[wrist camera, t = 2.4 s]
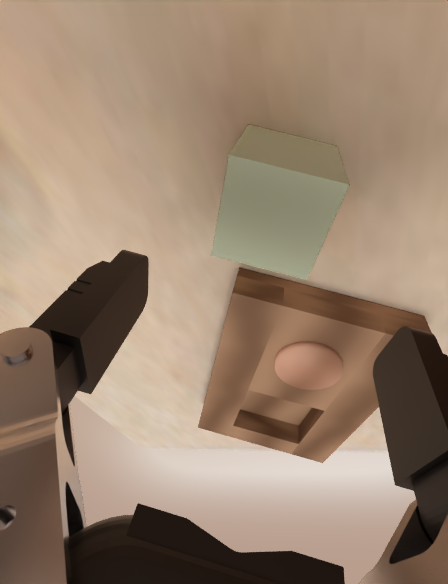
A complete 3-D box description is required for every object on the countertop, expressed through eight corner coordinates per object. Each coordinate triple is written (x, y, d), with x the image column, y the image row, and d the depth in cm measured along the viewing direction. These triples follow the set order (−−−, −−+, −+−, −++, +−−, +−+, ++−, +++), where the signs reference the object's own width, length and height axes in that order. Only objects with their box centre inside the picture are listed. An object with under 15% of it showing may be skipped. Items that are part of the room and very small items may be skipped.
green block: (231, 207, 20) (211, 255, 16) (248, 124, 17) (228, 154, 13) (305, 226, 20) (306, 280, 16) (337, 145, 17) (349, 184, 12)
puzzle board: (204, 402, 36) (196, 432, 33) (239, 267, 23) (230, 298, 20) (321, 435, 36) (322, 468, 33) (424, 316, 23) (440, 354, 20)
